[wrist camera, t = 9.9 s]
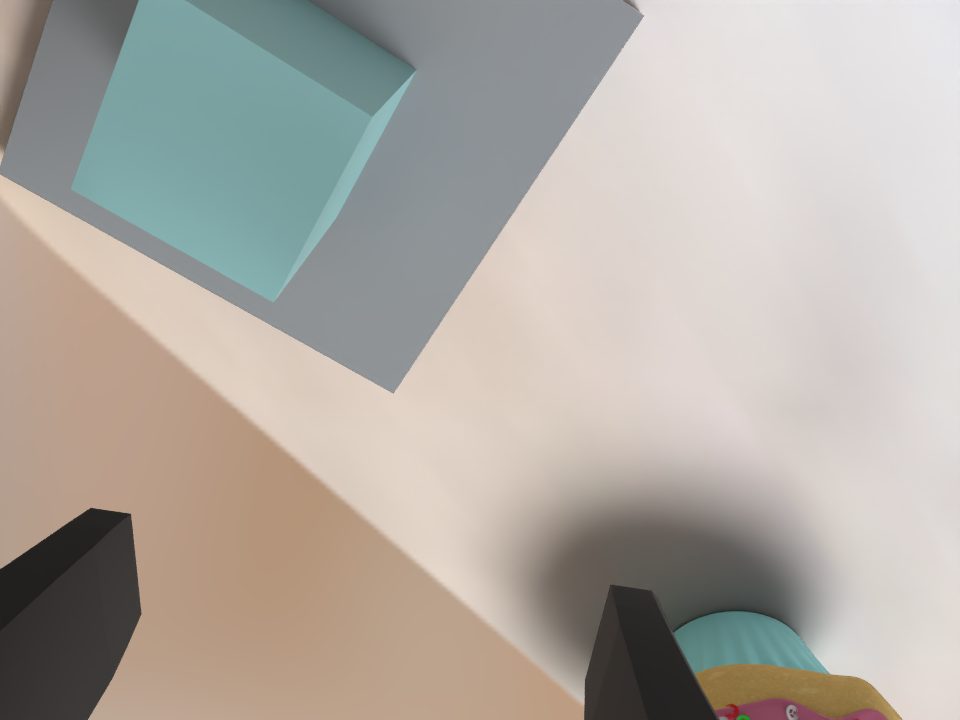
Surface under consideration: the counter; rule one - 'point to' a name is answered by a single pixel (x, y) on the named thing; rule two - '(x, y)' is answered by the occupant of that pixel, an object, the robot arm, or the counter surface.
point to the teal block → (239, 130)
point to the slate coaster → (387, 173)
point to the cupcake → (770, 673)
